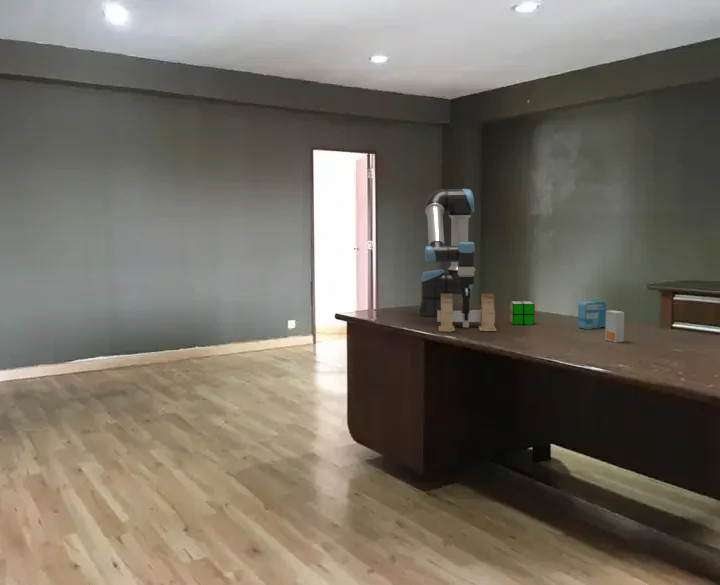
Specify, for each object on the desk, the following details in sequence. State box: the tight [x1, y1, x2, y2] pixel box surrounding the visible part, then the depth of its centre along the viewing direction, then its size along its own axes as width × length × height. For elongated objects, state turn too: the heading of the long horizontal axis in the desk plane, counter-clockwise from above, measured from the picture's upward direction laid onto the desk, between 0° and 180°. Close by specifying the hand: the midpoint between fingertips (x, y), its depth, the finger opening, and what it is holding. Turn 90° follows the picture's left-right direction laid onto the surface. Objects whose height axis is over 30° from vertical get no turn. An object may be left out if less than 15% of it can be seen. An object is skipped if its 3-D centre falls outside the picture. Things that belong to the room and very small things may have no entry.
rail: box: [436, 309, 496, 323], centre depth 309 cm, size 4×26×5 cm, turn 84°
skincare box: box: [604, 309, 625, 343], centre depth 268 cm, size 6×4×12 cm
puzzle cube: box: [509, 300, 536, 326], centre depth 318 cm, size 10×10×10 cm
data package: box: [577, 300, 607, 330], centre depth 302 cm, size 12×4×12 cm, turn 114°
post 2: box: [478, 293, 497, 332], centre depth 298 cm, size 8×7×16 cm
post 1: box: [437, 294, 456, 332], centre depth 299 cm, size 8×7×16 cm
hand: (465, 326), depth 309 cm, fingers closed on rail, 4 cm apart
